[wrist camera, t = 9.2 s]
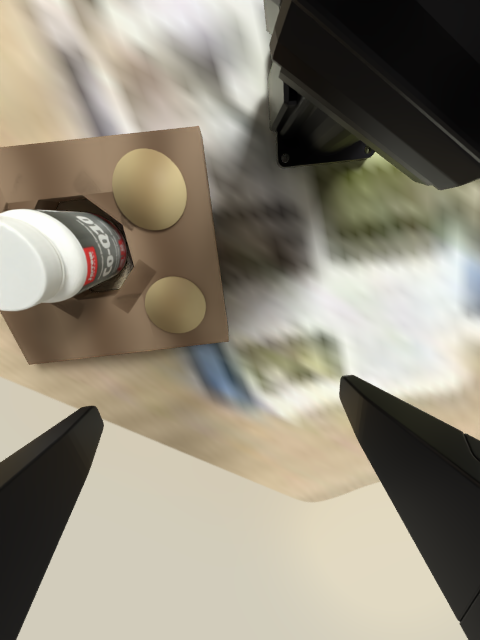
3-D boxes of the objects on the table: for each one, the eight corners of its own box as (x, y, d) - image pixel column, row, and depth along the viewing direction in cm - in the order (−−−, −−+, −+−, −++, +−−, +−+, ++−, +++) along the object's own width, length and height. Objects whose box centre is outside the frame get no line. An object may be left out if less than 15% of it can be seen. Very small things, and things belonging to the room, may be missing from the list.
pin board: (202, 137, 15) (198, 124, 13) (228, 330, 21) (228, 342, 19) (-47, 164, 15) (-88, 155, 13) (46, 351, 21) (27, 366, 19)
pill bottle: (139, 269, 18) (77, 306, 11) (82, 285, 19) (-18, 331, 11) (111, 203, 17) (11, 191, 9) (48, 222, 17) (-101, 225, 9)
